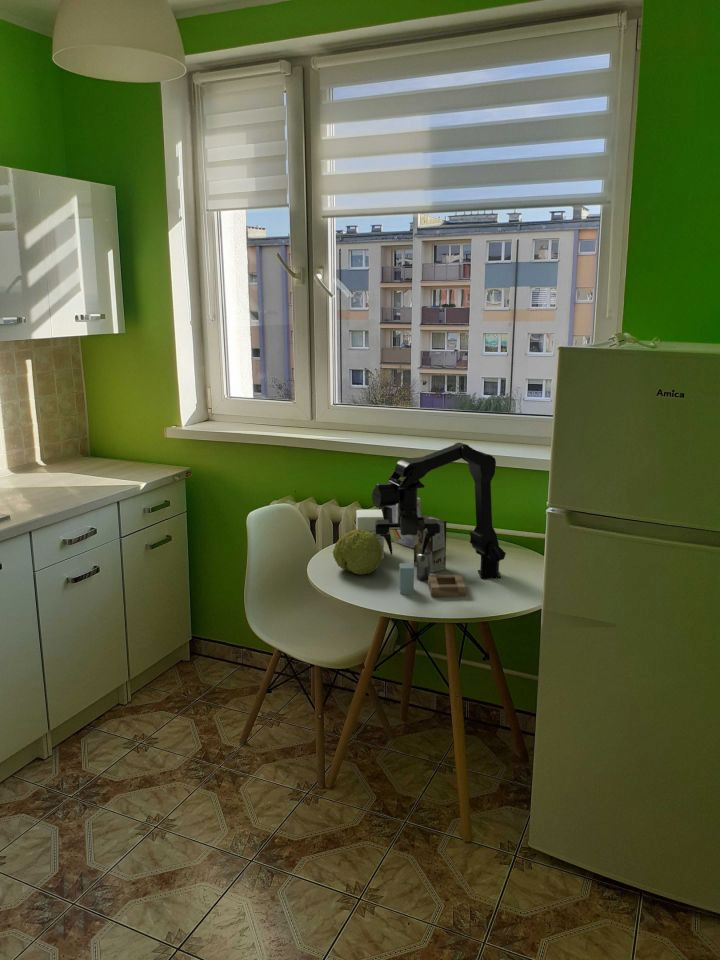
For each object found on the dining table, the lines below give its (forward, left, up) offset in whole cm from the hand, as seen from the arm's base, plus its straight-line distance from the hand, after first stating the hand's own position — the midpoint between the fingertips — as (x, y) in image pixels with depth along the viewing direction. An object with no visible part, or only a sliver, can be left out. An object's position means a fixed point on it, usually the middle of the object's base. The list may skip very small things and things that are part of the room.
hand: (407, 554), depth 228 cm
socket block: (0, +12, -12) cm, 17 cm away
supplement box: (-32, -10, -12) cm, 36 cm away
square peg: (0, 0, -12) cm, 12 cm away
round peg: (-10, +6, -12) cm, 17 cm away
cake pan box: (-46, +1, -12) cm, 48 cm away
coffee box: (-20, +9, -12) cm, 25 cm away
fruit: (-17, -14, -12) cm, 25 cm away
